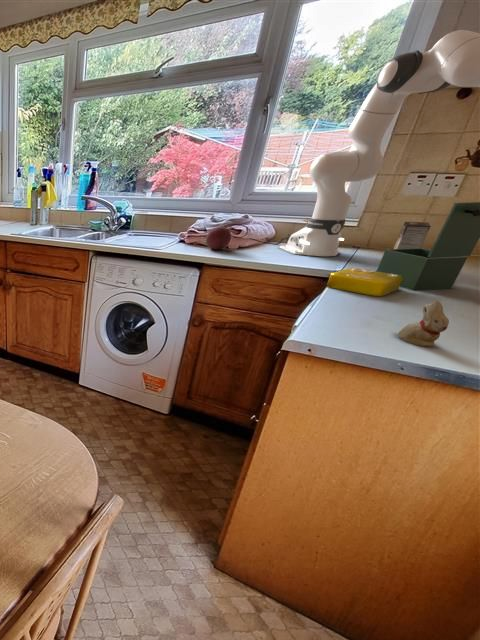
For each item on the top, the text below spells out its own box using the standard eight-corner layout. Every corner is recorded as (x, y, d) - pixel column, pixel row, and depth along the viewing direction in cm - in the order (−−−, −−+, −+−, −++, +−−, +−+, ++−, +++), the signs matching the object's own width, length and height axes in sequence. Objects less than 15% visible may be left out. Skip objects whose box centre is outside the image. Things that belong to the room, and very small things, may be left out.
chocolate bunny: (407, 345, 100) (428, 304, 95) (394, 334, 106) (413, 294, 101) (438, 349, 98) (461, 306, 93) (423, 336, 104) (444, 296, 99)
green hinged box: (373, 278, 150) (385, 249, 145) (408, 277, 150) (421, 248, 145) (413, 289, 137) (427, 258, 132) (451, 288, 137) (467, 257, 132)
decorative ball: (206, 251, 196) (212, 228, 191) (201, 247, 205) (206, 225, 200) (230, 251, 194) (236, 228, 189) (224, 247, 202) (229, 225, 198)
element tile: (323, 286, 143) (328, 272, 140) (345, 279, 149) (350, 265, 147) (379, 297, 131) (386, 281, 129) (400, 289, 138) (407, 274, 136)
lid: (454, 202, 125) (472, 205, 120) (496, 201, 125) (516, 203, 121) (427, 256, 132) (443, 260, 128) (467, 255, 133) (484, 259, 128)
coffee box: (385, 265, 164) (404, 221, 157) (408, 267, 161) (428, 222, 153) (387, 270, 158) (406, 224, 151) (410, 272, 155) (432, 225, 147)
